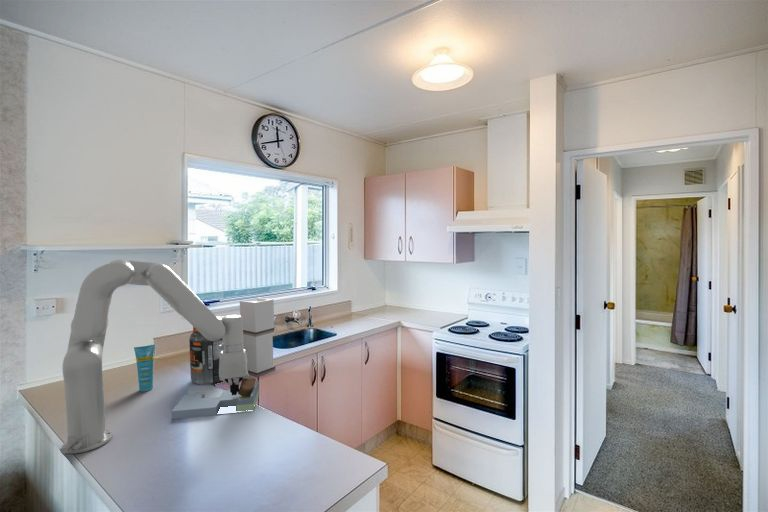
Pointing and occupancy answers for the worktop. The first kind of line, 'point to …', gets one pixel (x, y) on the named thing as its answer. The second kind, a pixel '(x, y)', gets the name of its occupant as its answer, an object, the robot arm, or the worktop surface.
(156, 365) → the worktop surface
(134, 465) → the worktop surface
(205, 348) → the supplement tub
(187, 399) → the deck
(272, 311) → the banded white pillar
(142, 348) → the tube
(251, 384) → the brown wooden block
